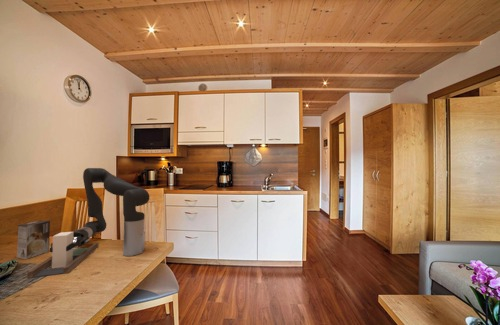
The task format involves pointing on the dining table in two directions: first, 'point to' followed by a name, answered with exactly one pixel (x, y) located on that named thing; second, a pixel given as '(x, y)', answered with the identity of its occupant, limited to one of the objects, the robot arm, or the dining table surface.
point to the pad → (78, 251)
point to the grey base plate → (51, 271)
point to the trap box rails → (66, 268)
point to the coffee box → (33, 239)
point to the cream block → (62, 249)
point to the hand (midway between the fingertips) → (59, 249)
